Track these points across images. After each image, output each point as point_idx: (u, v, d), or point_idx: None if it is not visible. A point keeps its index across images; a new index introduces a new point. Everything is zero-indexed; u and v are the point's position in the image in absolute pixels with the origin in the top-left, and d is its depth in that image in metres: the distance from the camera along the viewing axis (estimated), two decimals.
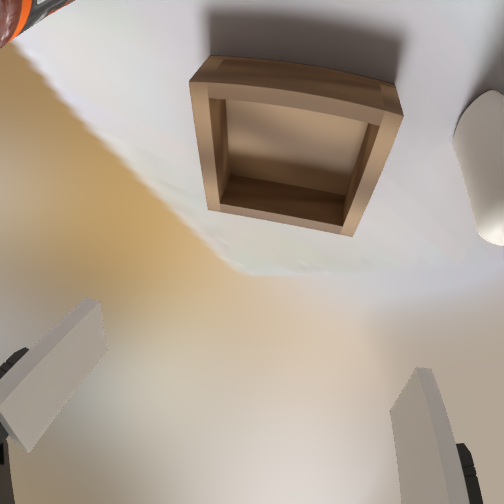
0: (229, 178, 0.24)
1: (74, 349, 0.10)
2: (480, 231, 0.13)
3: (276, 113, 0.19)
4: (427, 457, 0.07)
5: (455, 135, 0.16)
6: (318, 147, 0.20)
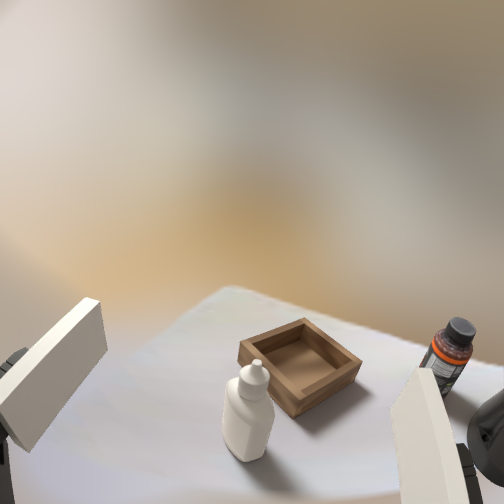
0: (300, 337, 0.44)
1: (74, 349, 0.10)
2: None
3: (314, 374, 0.38)
4: (427, 457, 0.07)
5: None
6: (286, 373, 0.38)
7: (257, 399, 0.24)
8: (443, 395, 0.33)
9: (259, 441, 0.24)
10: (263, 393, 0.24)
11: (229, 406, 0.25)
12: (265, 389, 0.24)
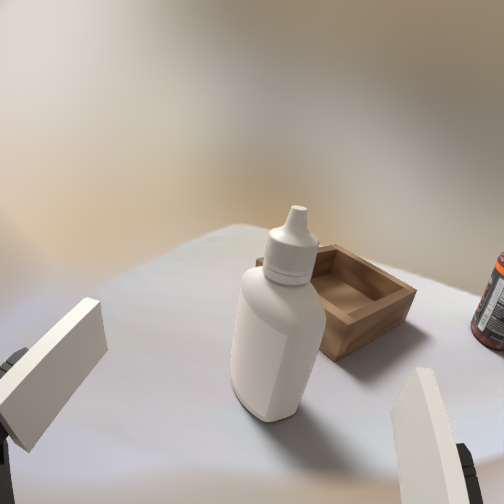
0: (331, 270, 0.35)
1: (74, 349, 0.10)
2: None
3: (355, 309, 0.29)
4: (427, 457, 0.07)
5: None
6: None
7: (298, 284, 0.15)
8: None
9: (297, 376, 0.15)
10: (308, 273, 0.15)
11: (246, 309, 0.16)
12: (312, 264, 0.15)
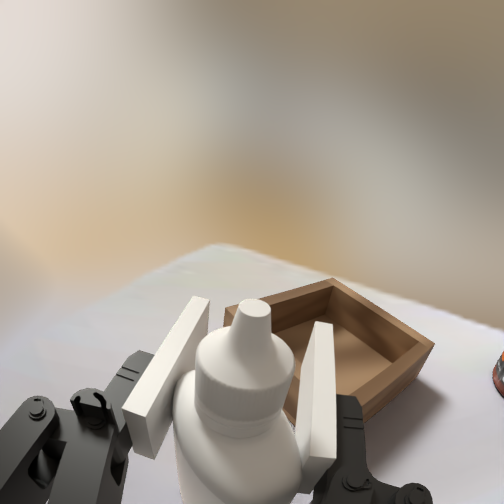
0: (326, 310, 0.27)
1: (192, 347, 0.12)
2: None
3: (355, 369, 0.21)
4: (307, 401, 0.10)
5: None
6: None
7: (253, 434, 0.07)
8: None
9: None
10: (273, 417, 0.07)
11: (177, 443, 0.09)
12: (280, 404, 0.07)
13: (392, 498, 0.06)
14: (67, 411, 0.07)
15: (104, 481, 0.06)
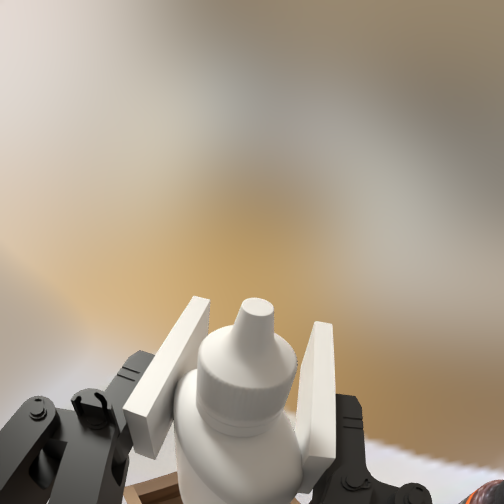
0: None
1: (193, 348, 0.12)
2: None
3: None
4: (307, 400, 0.10)
5: None
6: None
7: (255, 434, 0.07)
8: None
9: None
10: (274, 416, 0.07)
11: (178, 442, 0.09)
12: (281, 404, 0.07)
13: (391, 498, 0.06)
14: (68, 411, 0.07)
15: (105, 481, 0.06)
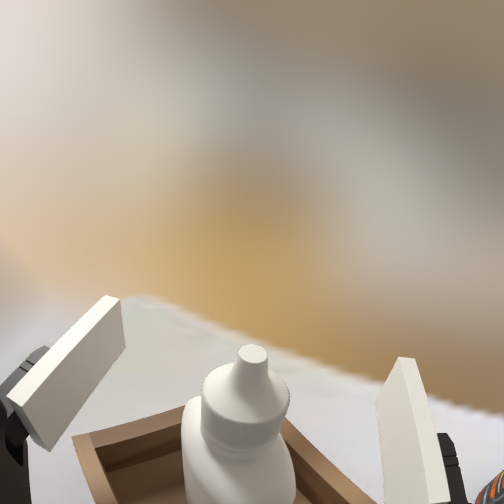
0: None
1: (95, 347, 0.11)
2: None
3: None
4: (407, 445, 0.08)
5: None
6: None
7: (252, 457, 0.08)
8: None
9: None
10: (269, 443, 0.08)
11: (185, 460, 0.09)
12: (275, 433, 0.08)
13: None
14: None
15: (2, 457, 0.05)
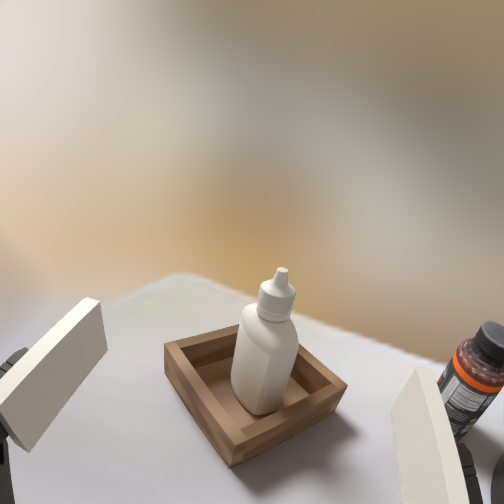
0: None
1: (74, 349, 0.10)
2: None
3: None
4: (427, 457, 0.07)
5: None
6: (230, 396, 0.25)
7: (279, 321, 0.21)
8: (462, 434, 0.20)
9: (277, 382, 0.22)
10: (287, 313, 0.21)
11: (244, 334, 0.23)
12: (290, 308, 0.21)
13: None
14: None
15: None
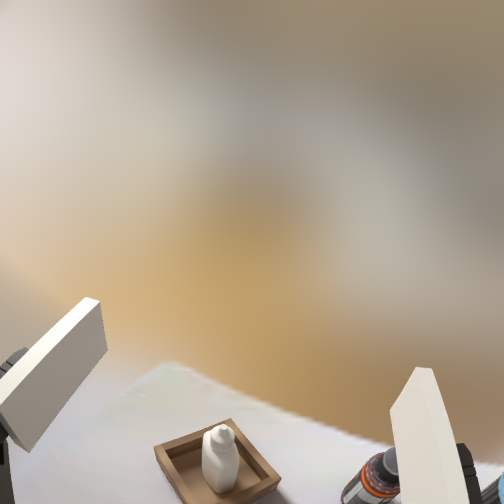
0: None
1: (74, 349, 0.10)
2: None
3: None
4: (427, 457, 0.07)
5: None
6: (201, 478, 0.31)
7: (224, 452, 0.27)
8: None
9: (227, 480, 0.28)
10: (229, 448, 0.27)
11: (204, 453, 0.29)
12: (231, 445, 0.27)
13: None
14: None
15: None
